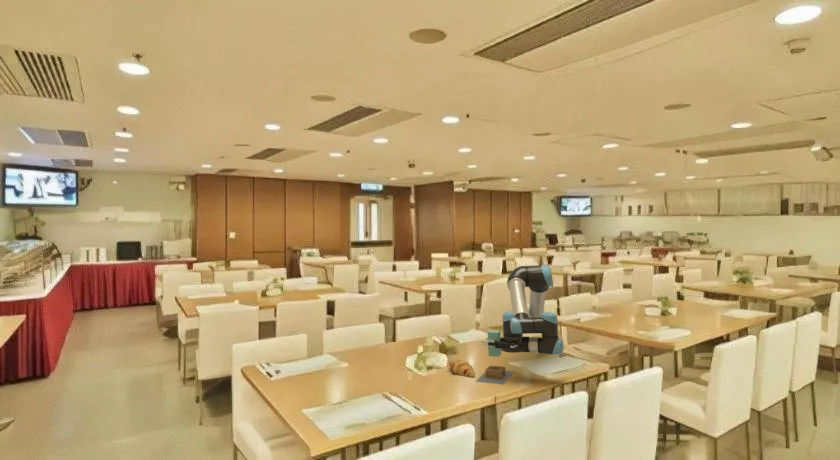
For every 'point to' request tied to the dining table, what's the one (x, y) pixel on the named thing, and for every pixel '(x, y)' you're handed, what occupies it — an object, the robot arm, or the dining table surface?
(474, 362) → the dining table surface
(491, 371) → the plinth
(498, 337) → the pillar
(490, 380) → the placemat
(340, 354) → the dining table surface
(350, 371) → the dining table surface
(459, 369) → the croissant
